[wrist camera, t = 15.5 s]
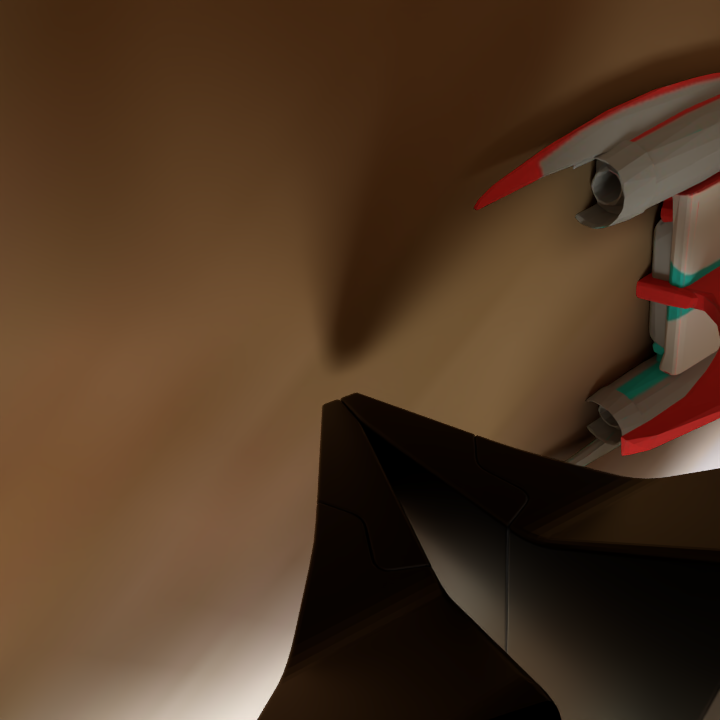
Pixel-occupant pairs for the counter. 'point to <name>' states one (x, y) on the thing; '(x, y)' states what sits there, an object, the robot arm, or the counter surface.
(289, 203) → the counter surface
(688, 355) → the toy spaceship
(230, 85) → the counter surface
